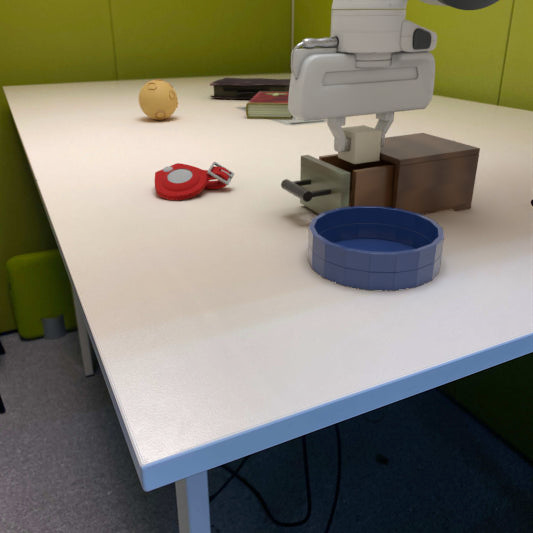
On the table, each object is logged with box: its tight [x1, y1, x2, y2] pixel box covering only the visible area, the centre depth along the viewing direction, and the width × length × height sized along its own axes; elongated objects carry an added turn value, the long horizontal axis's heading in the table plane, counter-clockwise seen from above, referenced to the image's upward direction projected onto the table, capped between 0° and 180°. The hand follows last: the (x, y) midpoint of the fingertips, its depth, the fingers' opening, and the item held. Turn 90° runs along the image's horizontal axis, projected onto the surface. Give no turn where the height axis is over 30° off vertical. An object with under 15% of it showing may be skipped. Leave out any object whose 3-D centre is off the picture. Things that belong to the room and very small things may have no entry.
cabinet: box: [379, 132, 481, 216], centre depth 78 cm, size 14×12×9 cm
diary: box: [209, 77, 291, 100], centre depth 177 cm, size 19×25×5 cm
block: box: [337, 124, 382, 164], centre depth 73 cm, size 4×4×4 cm
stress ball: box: [138, 78, 179, 121], centre depth 140 cm, size 10×10×10 cm
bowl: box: [307, 206, 445, 292], centre depth 60 cm, size 14×14×4 cm
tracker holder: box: [154, 161, 235, 201], centre depth 87 cm, size 12×4×10 cm
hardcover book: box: [245, 92, 294, 120], centre depth 151 cm, size 12×21×4 cm, turn 172°
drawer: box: [280, 153, 396, 215], centre depth 74 cm, size 17×10×7 cm, turn 116°
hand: (359, 148), depth 73 cm, fingers closed on block, 4 cm apart
